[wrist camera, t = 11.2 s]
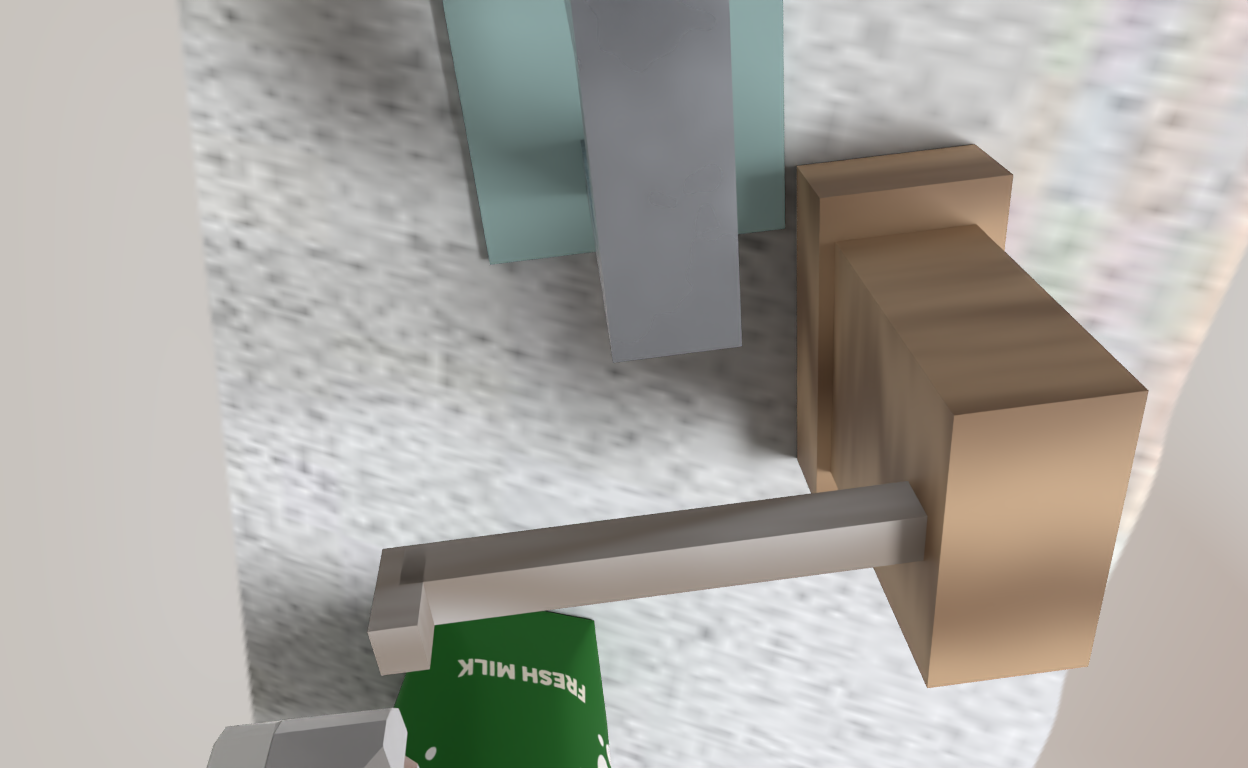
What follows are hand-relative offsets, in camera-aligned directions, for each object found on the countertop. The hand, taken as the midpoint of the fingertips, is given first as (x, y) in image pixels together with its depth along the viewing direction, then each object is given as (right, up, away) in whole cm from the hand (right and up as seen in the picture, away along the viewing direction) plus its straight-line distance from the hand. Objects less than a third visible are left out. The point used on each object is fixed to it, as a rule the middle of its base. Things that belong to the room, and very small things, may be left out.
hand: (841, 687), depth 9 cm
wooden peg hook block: (0, +4, +26) cm, 27 cm away
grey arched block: (-2, +13, +21) cm, 24 cm away
